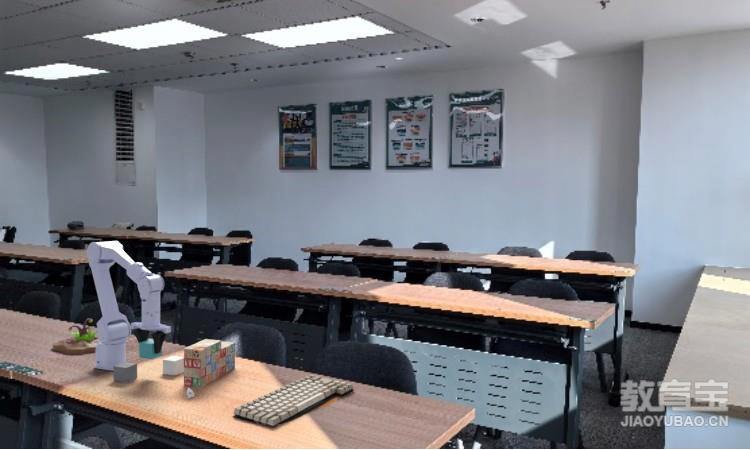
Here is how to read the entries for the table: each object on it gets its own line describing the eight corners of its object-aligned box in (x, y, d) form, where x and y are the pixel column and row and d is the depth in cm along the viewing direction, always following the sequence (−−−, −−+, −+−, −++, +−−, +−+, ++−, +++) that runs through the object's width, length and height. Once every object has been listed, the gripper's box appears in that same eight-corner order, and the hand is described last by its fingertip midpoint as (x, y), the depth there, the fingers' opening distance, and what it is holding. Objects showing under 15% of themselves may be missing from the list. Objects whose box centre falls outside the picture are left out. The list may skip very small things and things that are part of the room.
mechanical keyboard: (281, 434, 148) (281, 421, 147) (227, 418, 157) (227, 406, 157) (356, 392, 180) (356, 381, 180) (308, 381, 190) (308, 371, 190)
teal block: (139, 357, 187) (139, 342, 187) (149, 353, 192) (149, 339, 191) (151, 359, 185) (151, 344, 185) (162, 355, 190) (162, 340, 190)
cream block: (162, 374, 192) (162, 359, 191) (172, 369, 196) (172, 355, 196) (175, 375, 190) (175, 361, 190) (184, 371, 195) (184, 357, 194)
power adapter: (184, 397, 171) (184, 387, 171) (193, 395, 173) (193, 385, 173) (188, 400, 169) (188, 390, 169) (197, 398, 171) (197, 388, 170)
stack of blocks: (219, 366, 201) (219, 332, 201) (235, 368, 200) (235, 334, 199) (183, 385, 181) (183, 347, 180) (200, 388, 179) (200, 349, 178)
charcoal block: (113, 381, 183) (113, 366, 183) (124, 376, 188) (124, 361, 188) (125, 383, 182) (125, 367, 181) (137, 378, 186) (137, 363, 186)
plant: (123, 346, 225) (123, 318, 225) (76, 357, 208) (76, 327, 208) (93, 338, 235) (93, 311, 235) (45, 349, 219) (45, 320, 218)
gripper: (124, 311, 186) (124, 352, 187) (160, 316, 182) (160, 357, 182) (139, 308, 193) (139, 347, 194) (175, 312, 188) (174, 352, 189)
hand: (150, 352), depth 188 cm, fingers closed on teal block, 5 cm apart
